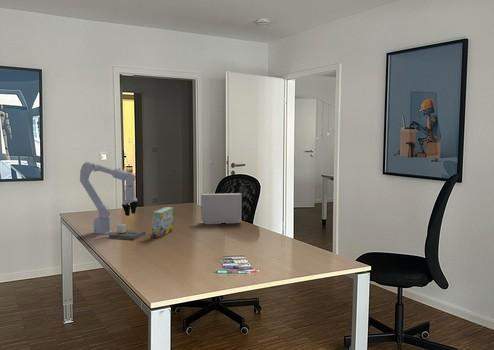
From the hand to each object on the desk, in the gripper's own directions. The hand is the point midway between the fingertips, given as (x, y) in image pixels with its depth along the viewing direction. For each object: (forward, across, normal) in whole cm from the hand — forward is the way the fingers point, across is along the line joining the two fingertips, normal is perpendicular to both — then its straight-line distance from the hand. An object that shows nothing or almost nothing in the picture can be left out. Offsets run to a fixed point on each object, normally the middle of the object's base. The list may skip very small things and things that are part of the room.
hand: (130, 214), depth 289 cm
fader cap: (+8, -13, -1) cm, 15 cm away
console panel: (+10, -13, -5) cm, 17 cm away
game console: (+11, +42, -46) cm, 63 cm away
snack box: (+11, -1, -22) cm, 24 cm away
